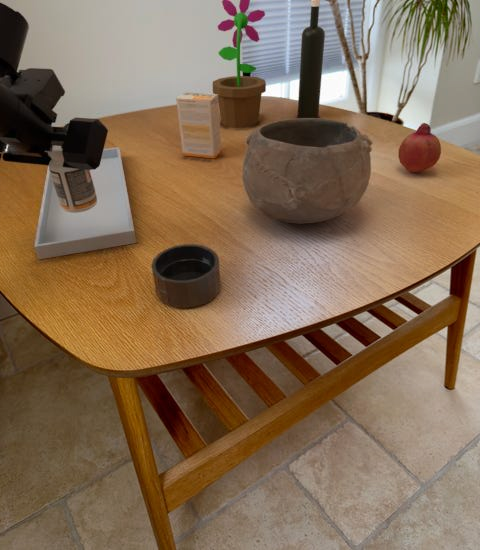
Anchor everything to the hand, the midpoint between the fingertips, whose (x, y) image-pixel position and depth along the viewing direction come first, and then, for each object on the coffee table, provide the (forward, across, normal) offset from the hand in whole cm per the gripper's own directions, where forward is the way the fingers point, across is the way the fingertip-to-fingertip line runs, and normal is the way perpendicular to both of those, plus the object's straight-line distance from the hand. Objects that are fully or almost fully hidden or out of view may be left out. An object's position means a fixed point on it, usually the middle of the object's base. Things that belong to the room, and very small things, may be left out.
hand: (74, 164), depth 66 cm
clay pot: (+20, -33, -2) cm, 39 cm away
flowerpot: (+53, -8, -36) cm, 65 cm away
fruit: (+36, -53, -19) cm, 66 cm away
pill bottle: (+4, 0, +6) cm, 7 cm away
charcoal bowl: (+2, -22, +16) cm, 27 cm away
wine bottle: (+58, -25, -42) cm, 76 cm away
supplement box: (+35, -6, -19) cm, 40 cm away
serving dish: (+17, +8, 0) cm, 19 cm away
